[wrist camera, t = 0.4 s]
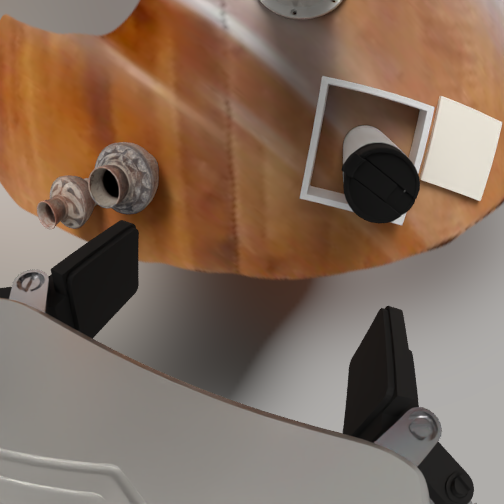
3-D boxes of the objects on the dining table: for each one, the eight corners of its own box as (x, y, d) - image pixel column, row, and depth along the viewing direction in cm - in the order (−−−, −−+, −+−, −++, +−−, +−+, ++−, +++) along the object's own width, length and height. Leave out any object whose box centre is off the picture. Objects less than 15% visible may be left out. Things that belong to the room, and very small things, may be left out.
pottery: (65, 174, 55) (21, 194, 44) (159, 125, 45) (111, 138, 35) (86, 224, 59) (46, 251, 49) (183, 191, 49) (142, 219, 39)
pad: (439, 95, 33) (441, 95, 32) (499, 121, 31) (502, 122, 30) (419, 178, 39) (421, 180, 38) (477, 199, 37) (480, 201, 36)
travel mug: (358, 114, 37) (371, 127, 20) (397, 144, 37) (438, 184, 21) (331, 150, 40) (322, 193, 24) (370, 179, 41) (388, 243, 24)
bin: (324, 77, 36) (322, 75, 33) (426, 105, 34) (434, 107, 30) (303, 189, 44) (299, 198, 41) (397, 214, 42) (402, 225, 38)
